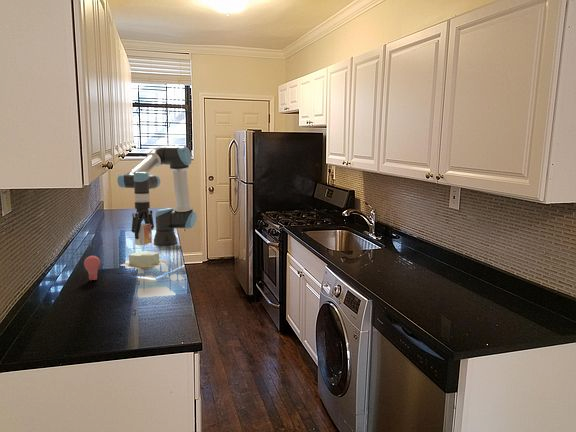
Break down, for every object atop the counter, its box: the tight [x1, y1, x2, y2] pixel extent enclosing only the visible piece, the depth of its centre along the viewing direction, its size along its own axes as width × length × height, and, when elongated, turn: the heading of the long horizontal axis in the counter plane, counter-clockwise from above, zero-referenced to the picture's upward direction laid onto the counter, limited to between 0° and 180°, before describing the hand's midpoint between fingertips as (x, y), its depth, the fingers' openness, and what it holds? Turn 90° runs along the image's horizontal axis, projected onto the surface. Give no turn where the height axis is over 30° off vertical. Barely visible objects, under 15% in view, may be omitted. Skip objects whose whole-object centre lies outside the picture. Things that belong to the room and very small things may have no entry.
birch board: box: [119, 259, 169, 270], centre depth 237 cm, size 18×18×1 cm
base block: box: [128, 250, 160, 266], centre depth 236 cm, size 10×12×5 cm
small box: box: [134, 222, 153, 246], centre depth 234 cm, size 8×6×10 cm
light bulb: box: [83, 255, 101, 281], centre depth 208 cm, size 7×7×12 cm
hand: (143, 243), depth 235 cm, fingers closed on small box, 8 cm apart
